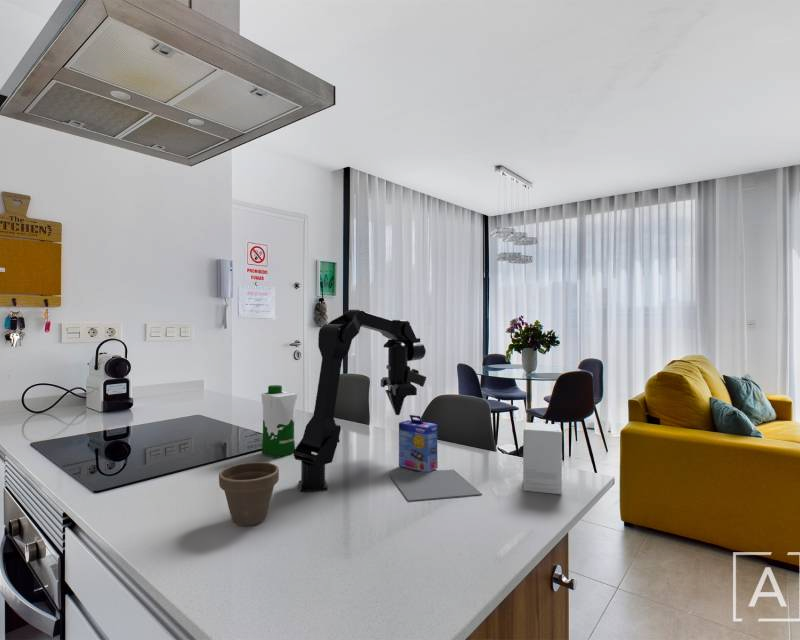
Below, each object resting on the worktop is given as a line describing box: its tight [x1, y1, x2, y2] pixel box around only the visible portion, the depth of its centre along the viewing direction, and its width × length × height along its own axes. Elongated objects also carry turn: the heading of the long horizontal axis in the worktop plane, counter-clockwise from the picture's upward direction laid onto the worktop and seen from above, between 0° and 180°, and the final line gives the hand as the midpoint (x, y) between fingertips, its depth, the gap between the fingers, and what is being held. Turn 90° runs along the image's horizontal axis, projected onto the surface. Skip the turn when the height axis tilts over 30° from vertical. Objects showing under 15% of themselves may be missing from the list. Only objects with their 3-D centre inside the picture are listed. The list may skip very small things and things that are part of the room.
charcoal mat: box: [389, 469, 483, 503], centre depth 115 cm, size 18×18×1 cm
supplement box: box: [522, 421, 563, 495], centre depth 115 cm, size 9×9×15 cm
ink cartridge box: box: [398, 414, 439, 472], centre depth 128 cm, size 10×6×14 cm, turn 53°
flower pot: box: [218, 461, 280, 527], centre depth 94 cm, size 12×11×10 cm
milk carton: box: [260, 384, 299, 459], centre depth 140 cm, size 9×9×20 cm
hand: (397, 414), depth 138 cm, fingers closed
